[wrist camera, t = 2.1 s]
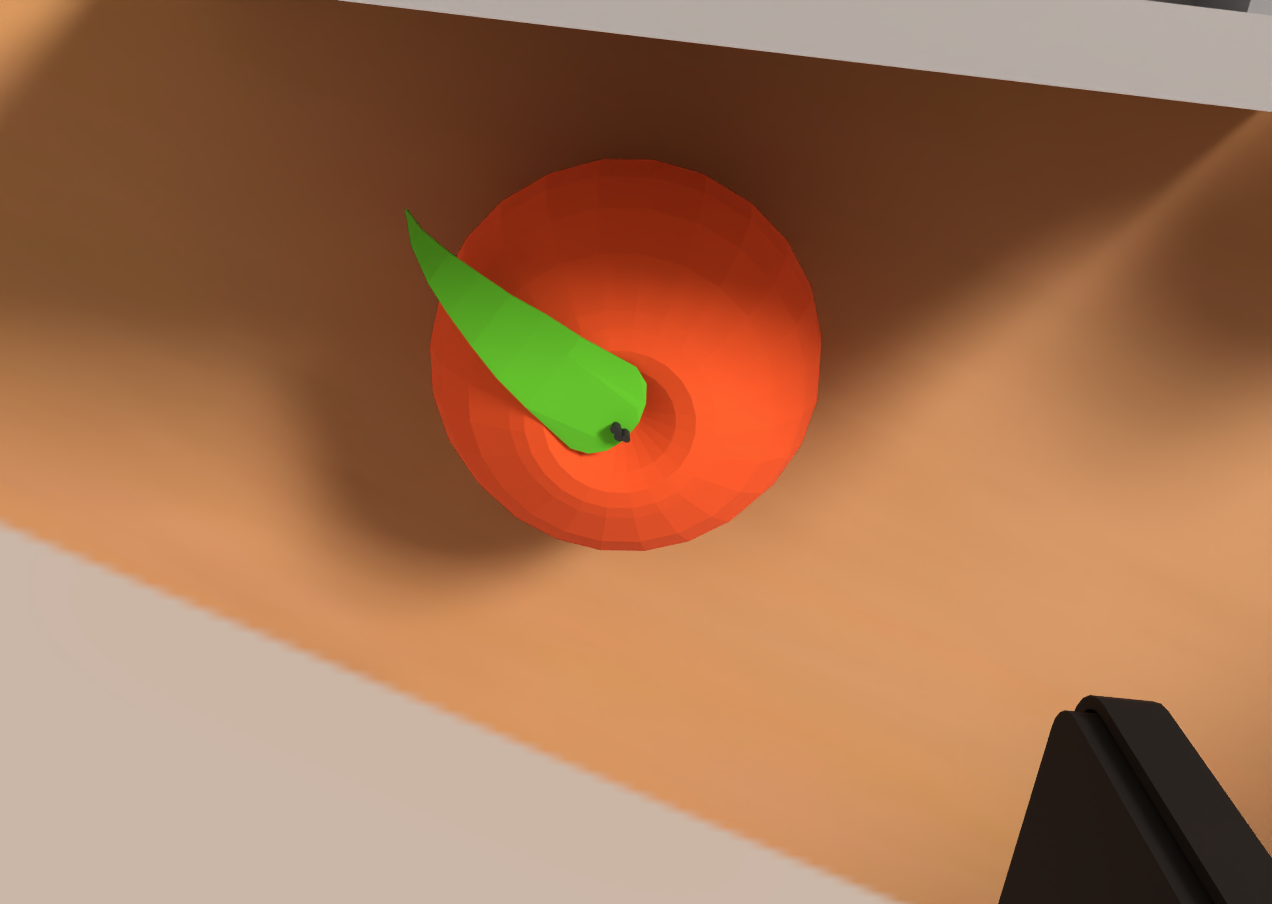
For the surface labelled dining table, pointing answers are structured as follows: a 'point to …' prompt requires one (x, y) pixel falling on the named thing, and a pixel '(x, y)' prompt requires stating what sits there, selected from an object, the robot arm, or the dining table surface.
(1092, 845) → the robot arm
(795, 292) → the clementine
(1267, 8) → the grey open box
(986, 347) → the dining table surface
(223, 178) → the dining table surface
